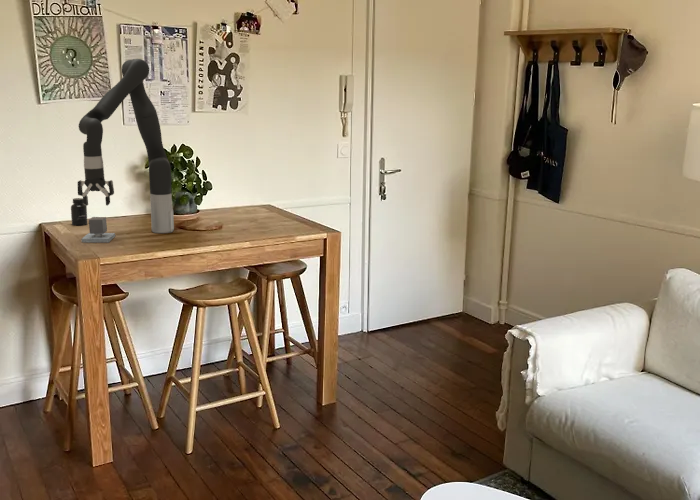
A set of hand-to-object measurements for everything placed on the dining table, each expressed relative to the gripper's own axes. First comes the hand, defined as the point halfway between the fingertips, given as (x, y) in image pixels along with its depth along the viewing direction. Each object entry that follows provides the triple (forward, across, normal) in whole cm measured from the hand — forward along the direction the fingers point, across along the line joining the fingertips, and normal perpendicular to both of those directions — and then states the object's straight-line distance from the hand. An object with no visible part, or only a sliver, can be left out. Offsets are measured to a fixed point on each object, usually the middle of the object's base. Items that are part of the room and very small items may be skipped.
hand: (97, 205), depth 296 cm
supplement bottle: (+15, +17, -29) cm, 37 cm away
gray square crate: (+12, 0, 0) cm, 12 cm away
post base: (+15, 0, 0) cm, 15 cm away
